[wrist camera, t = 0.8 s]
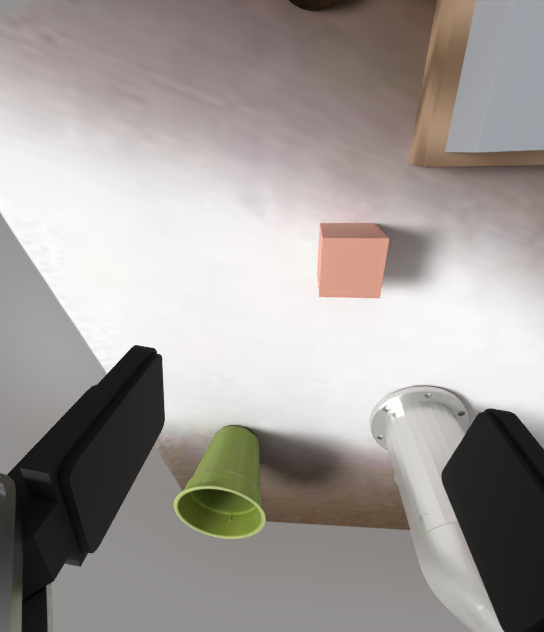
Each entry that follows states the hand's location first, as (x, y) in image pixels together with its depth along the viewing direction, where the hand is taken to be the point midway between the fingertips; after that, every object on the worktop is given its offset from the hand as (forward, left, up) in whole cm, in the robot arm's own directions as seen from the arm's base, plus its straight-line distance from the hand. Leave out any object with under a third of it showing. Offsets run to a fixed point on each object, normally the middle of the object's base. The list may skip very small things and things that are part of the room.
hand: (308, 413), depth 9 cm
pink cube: (-2, -4, -25) cm, 26 cm away
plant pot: (-33, +10, -26) cm, 43 cm away
